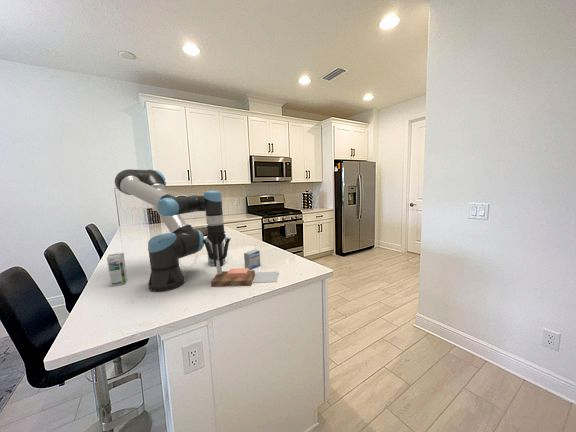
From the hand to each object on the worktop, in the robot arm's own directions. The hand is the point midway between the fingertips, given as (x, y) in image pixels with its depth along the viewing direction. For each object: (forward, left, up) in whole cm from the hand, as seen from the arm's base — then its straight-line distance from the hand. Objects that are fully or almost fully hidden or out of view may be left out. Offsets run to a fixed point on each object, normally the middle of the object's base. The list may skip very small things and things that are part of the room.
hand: (219, 272), depth 112 cm
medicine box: (+13, +17, -4) cm, 22 cm away
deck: (+7, -1, -4) cm, 8 cm away
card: (+9, 0, -1) cm, 9 cm away
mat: (+22, +2, -4) cm, 22 cm away
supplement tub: (-9, +24, -4) cm, 26 cm away
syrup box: (-49, 0, -4) cm, 49 cm away
